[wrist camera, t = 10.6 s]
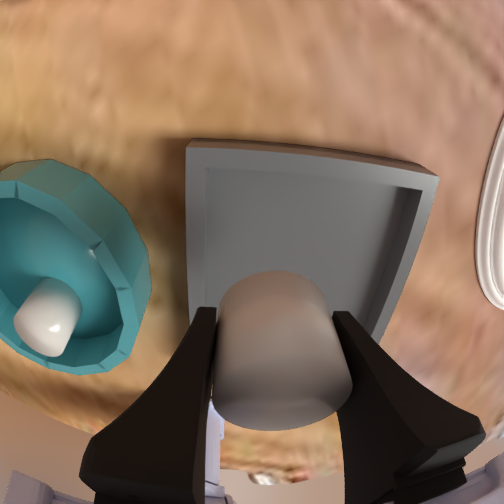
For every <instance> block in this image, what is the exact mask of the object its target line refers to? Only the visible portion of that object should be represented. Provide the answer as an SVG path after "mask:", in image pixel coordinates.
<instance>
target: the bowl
mask: <svg viewBox="0 0 504 504" xmlns="http://www.w3.org/2000/svg"><path fill="white" fill-rule="evenodd" d="M48 277H51V278H56V279H59V280H61V281H63V282H65V283H66V284H68V285H69V286H70V287H71V288H72V289H73V290H74V291H75V292H76V293H77V295H78V296H79V298H80V300H81V303H82V308H83V310H82V314H81V317H80V318H79V320H78V322H77V324H76V326H75V328H74V330H73V332H72V334H71V336H70V338H69V340H68V342H67V345H66V347H65V349H64V351H63V353H62V354H61V355H59V356H56V357H50V356H46V355H43V354H40V353H38V352H36V351H35V350H33V349H32V348H30V347H29V346H28V345H27V344H26V343H25V342H24V341H23V340H22V339H21V338H20V336H19V335H18V333H17V332H16V329H15V327H14V321H13V320H14V316H15V315H16V313H17V312H18V310H19V309H20V307H21V306H22V305H23V303H24V302H25V300H26V299H27V297H28V296H29V295H30V293H31V292H32V291H33V289H34V288H35V286H36V285H37V284H38V282H39V281H40V280H42V279H43V278H48ZM151 291H152V284H151V276H150V267H149V258H148V250H147V248H146V247H145V245H144V243H143V241H142V239H141V237H140V235H139V233H138V231H137V230H136V228H135V226H134V224H133V222H132V220H131V218H130V216H129V214H128V212H127V210H126V209H125V208H124V207H123V206H122V205H121V204H120V203H119V202H118V201H117V200H116V199H115V198H114V197H113V196H112V195H111V194H110V193H108V192H107V191H106V190H105V189H104V188H103V187H102V186H101V185H100V184H99V183H98V182H97V181H96V180H95V179H94V178H93V177H92V176H91V175H89V174H86V173H84V172H81V171H79V170H77V169H74V168H72V167H69V166H67V165H64V164H62V163H60V162H57V161H55V160H52V159H46V160H35V161H26V162H17V163H15V164H13V165H11V166H9V167H8V168H6V169H4V170H2V171H1V172H0V338H1V339H2V340H3V341H4V342H5V343H6V344H8V345H9V346H10V347H11V348H12V349H14V350H15V351H16V352H17V353H19V354H21V355H23V356H25V357H27V358H28V359H30V360H32V361H34V362H36V363H38V364H40V365H42V366H44V367H46V368H48V369H53V370H57V371H61V372H66V373H71V374H75V375H86V374H95V373H103V372H108V371H110V370H111V369H113V368H114V367H115V366H117V365H118V364H120V363H121V362H123V361H124V360H125V359H127V358H128V357H130V354H131V351H132V348H133V345H134V342H135V339H136V336H137V334H138V331H139V328H140V325H141V322H142V319H143V315H144V312H145V309H146V306H147V303H148V300H149V297H150V294H151Z"/></svg>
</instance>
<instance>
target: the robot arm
mask: <svg viewBox="0 0 504 504" xmlns="http://www.w3.org/2000/svg"><path fill="white" fill-rule="evenodd" d="M216 313H217V307H202V306H200V307H199V308H197V311H196V313H195V316H194V318H193V321H192V323H191V325H190V327H189V329H188V331H187V333H186V334H185V336H184V338H183V340H182V341H181V343H180V345H179V347H178V348H177V350H176V351H175V353H174V354H173V356H172V357H171V359H170V360H169V362H168V363H167V365H166V366H165V367H164V369H163V370H162V371H161V373H160V374H159V375H158V376H157V378H156V379H155V380H154V381H153V383H152V384H151V385H150V386H149V387H148V388H147V389H146V390H145V392H144V393H143V394H142V395H141V396H140V397H139V398H138V399H137V400H136V401H135V402H134V403H133V404H132V405H131V406H130V407H129V408H128V409H127V410H125V411H124V412H123V413H122V414H121V415H120V416H119V417H118V418H117V419H115V420H114V421H113V422H112V423H110V424H109V425H108V426H106V427H105V428H104V429H102V430H101V431H100V432H98V433H97V434H96V435H94V436H93V437H92V438H91V440H90V442H89V444H88V446H87V448H86V451H85V453H84V455H83V459H82V463H81V468H80V472H79V477H80V479H81V480H82V481H83V482H84V483H85V484H86V485H87V486H88V487H90V488H91V489H92V490H93V491H95V492H96V493H95V499H94V503H93V502H89V501H86V500H82V499H79V498H76V497H73V496H69V495H67V494H63V493H61V492H58V491H55V490H53V489H52V488H51V487H50V486H48V485H47V484H45V483H43V482H41V481H39V480H37V479H34V478H32V477H29V476H27V475H25V474H22V473H20V472H18V471H16V470H13V471H12V474H11V478H10V481H9V485H8V489H7V493H6V497H5V501H4V504H236V502H235V501H234V500H233V499H232V497H231V496H230V495H228V494H225V488H224V487H223V486H220V440H222V439H224V418H222V417H221V416H220V415H219V414H218V413H217V412H216V410H215V409H214V406H213V404H212V399H211V398H210V397H211V390H212V383H213V369H214V351H215V336H216ZM332 320H333V323H334V326H335V329H336V332H337V335H338V338H339V341H340V344H341V347H342V350H343V353H344V356H345V360H346V363H347V366H348V369H349V372H350V376H351V379H352V391H351V394H350V396H349V398H348V399H347V401H346V402H345V403H344V404H343V405H342V406H341V407H340V408H339V409H338V410H337V411H336V412H337V416H338V421H339V426H340V433H341V441H342V450H343V460H344V477H345V504H504V452H503V453H501V454H500V455H498V456H496V457H495V458H493V459H492V460H490V461H489V462H488V463H487V464H486V465H485V466H483V467H481V468H479V469H477V470H475V471H472V472H470V473H468V474H466V475H465V474H464V471H463V468H462V467H464V466H465V465H466V462H465V459H464V457H465V456H466V455H468V454H469V453H470V452H471V451H473V450H474V449H475V448H476V447H477V446H478V445H479V444H481V443H482V441H483V440H484V439H485V436H486V433H485V431H484V429H483V426H482V424H481V422H480V420H479V418H478V417H477V416H475V415H473V414H471V413H469V412H467V411H464V410H462V409H460V408H458V407H456V406H454V405H453V404H451V403H449V402H447V401H446V400H444V399H442V398H441V397H439V396H438V395H436V394H434V393H433V392H432V391H430V390H429V389H427V388H426V387H424V386H423V385H422V384H420V383H419V382H418V381H417V380H415V379H414V378H413V377H412V376H411V375H409V374H408V373H407V372H406V371H405V370H403V369H402V368H401V367H400V366H399V365H398V364H397V363H396V362H395V361H394V360H393V359H392V358H391V357H390V356H389V355H388V354H387V353H386V352H385V351H384V350H383V349H382V348H381V347H380V346H379V345H378V344H377V343H376V342H375V340H374V339H373V338H372V337H371V336H370V335H369V334H368V333H367V331H366V330H365V329H364V328H363V327H362V326H361V325H360V323H359V322H358V321H357V320H356V319H355V318H354V317H353V316H352V314H351V313H350V312H349V311H334V312H333V315H332Z"/></svg>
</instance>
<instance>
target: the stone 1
mask: <svg viewBox="0 0 504 504" xmlns="http://www.w3.org/2000/svg"><path fill="white" fill-rule="evenodd" d="M82 310H83V308H82V303H81V300H80V298H79V296H78V295H77V293H76V292H75V291H74V290H73V289H72V288H71V287H70V286H69V285H68V284H66V283H65V282H63V281H61V280H59V279H56V278H51V277H48V278H43V279H42V280H40V281H39V282H38V284H37V285H36V286H35V288H34V289H33V291H32V292H31V293H30V295H29V296H28V297H27V299H26V300H25V302H24V303H23V305H22V306H21V307H20V309H19V310H18V312H17V313H16V315H15V316H14V320H13V321H14V327H15V329H16V332H17V333H18V335H19V336H20V338H21V339H22V340H23V341H24V342H25V343H26V344H27V345H28V346H29V347H30V348H32V349H33V350H35V351H36V352H38V353H40V354H43V355H46V356H50V357H56V356H59V355H61V354H62V353H63V351H64V349H65V347H66V345H67V342H68V340H69V338H70V336H71V334H72V332H73V330H74V328H75V326H76V324H77V322H78V320H79V318H80V317H81V314H82Z"/></svg>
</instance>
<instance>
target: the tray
mask: <svg viewBox="0 0 504 504" xmlns="http://www.w3.org/2000/svg"><path fill="white" fill-rule="evenodd" d="M439 179H440V177H439V176H438V175H436V174H434V173H433V172H431V171H430V170H428V169H426V168H425V167H423V166H421V165H420V164H415V163H411V162H406V161H401V160H396V159H391V158H385V157H380V156H374V155H368V154H362V153H356V152H349V151H342V150H335V149H328V148H320V147H312V146H303V145H294V144H284V143H273V142H261V141H247V140H230V139H207V138H193V139H192V140H191V141H190V143H189V144H188V145H187V147H186V172H185V208H186V256H187V282H188V302H189V319H190V325H191V323H192V321H193V318H194V316H195V313H196V311H197V308H199V307H200V306H202V307H217V309H218V305H219V302H220V300H221V298H222V297H223V295H224V294H225V292H226V291H227V290H228V289H229V288H230V287H231V286H233V285H234V284H235V283H237V282H238V281H240V280H242V279H244V278H246V277H248V276H250V275H253V274H256V273H261V272H266V271H288V272H292V273H296V274H299V275H302V276H304V277H306V278H308V279H310V280H311V281H312V282H314V283H315V284H316V285H317V286H318V287H319V288H320V290H321V291H322V293H323V295H324V297H325V300H326V302H327V305H328V308H329V311H330V314H331V317H332V315H333V312H334V311H349V312H350V313H351V314H352V316H353V317H354V318H355V319H356V320H357V321H358V322H359V323H360V325H361V326H362V327H363V328H364V329H365V330H366V331H367V333H368V334H369V335H370V336H371V337H372V338H373V339H374V340H375V342H376V343H377V344H379V342H380V340H381V338H382V336H383V334H384V332H385V329H386V327H387V325H388V323H389V321H390V318H391V316H392V314H393V312H394V309H395V307H396V305H397V302H398V300H399V298H400V295H401V293H402V290H403V288H404V285H405V283H406V280H407V278H408V275H409V273H410V270H411V267H412V265H413V262H414V259H415V256H416V254H417V251H418V248H419V245H420V242H421V239H422V236H423V233H424V230H425V227H426V224H427V221H428V217H429V214H430V211H431V208H432V204H433V201H434V197H435V194H436V190H437V186H438V182H439ZM216 320H217V313H216Z"/></svg>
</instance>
